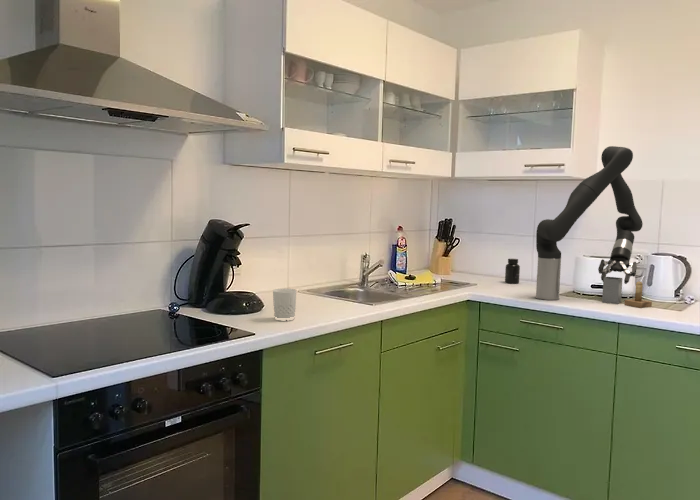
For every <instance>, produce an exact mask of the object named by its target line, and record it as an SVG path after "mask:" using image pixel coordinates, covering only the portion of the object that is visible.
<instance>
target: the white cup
mask: <svg viewBox="0 0 700 500" xmlns="http://www.w3.org/2000/svg"><path fill="white" fill-rule="evenodd" d="M272 297H273V310H274V315H273V316H275V317H277V318H290V317H294V316H296V314H295V313H296V307H297V305H296V304H297V290H296V289H294V288H275V289H273V290H272ZM275 317H274V318H275Z"/></svg>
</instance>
